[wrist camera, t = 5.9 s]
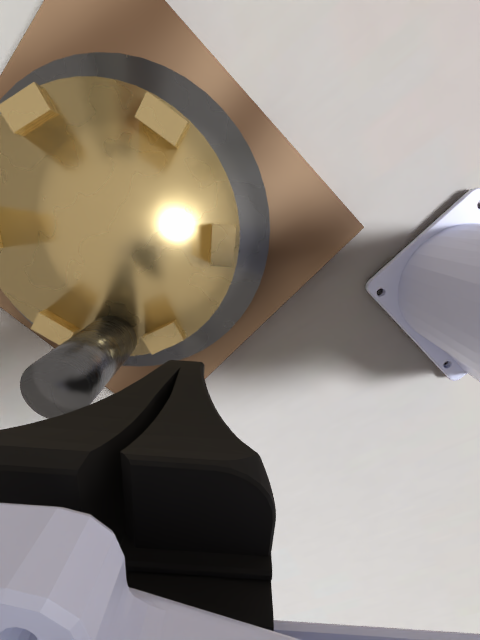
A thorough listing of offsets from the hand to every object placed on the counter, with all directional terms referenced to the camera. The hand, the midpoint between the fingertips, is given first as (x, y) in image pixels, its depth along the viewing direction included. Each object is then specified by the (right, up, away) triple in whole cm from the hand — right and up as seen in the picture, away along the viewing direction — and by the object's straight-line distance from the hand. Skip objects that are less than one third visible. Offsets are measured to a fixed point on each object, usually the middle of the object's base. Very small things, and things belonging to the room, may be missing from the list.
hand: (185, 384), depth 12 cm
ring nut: (-4, +7, +4) cm, 9 cm away
